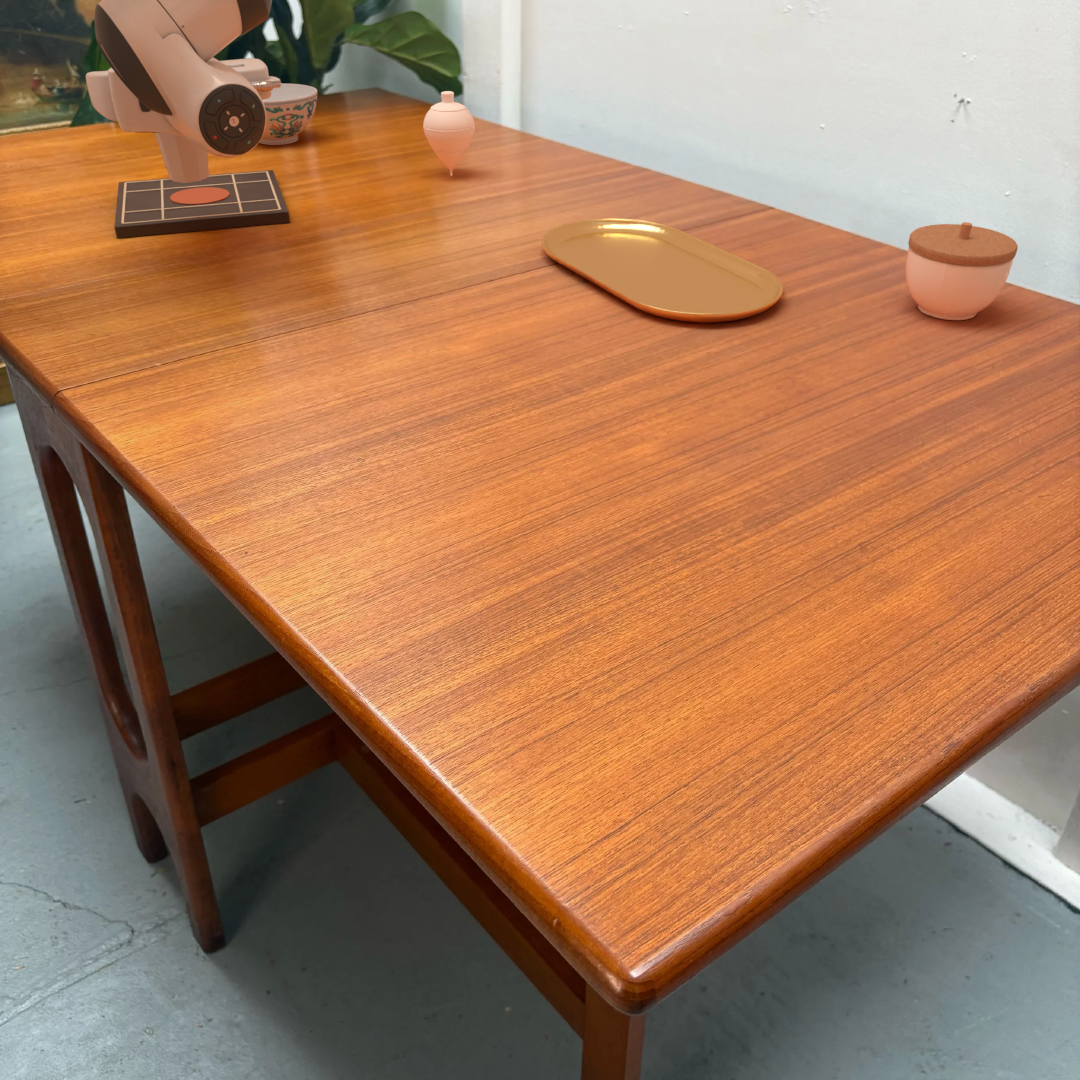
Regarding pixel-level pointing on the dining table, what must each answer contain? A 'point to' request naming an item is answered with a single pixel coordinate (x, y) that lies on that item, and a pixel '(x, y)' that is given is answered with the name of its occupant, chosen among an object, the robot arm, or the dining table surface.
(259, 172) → the grid board
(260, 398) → the dining table surface
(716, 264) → the serving platter
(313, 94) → the chinaware
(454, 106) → the spinning top
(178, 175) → the faceted bottle
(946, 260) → the trinket box
